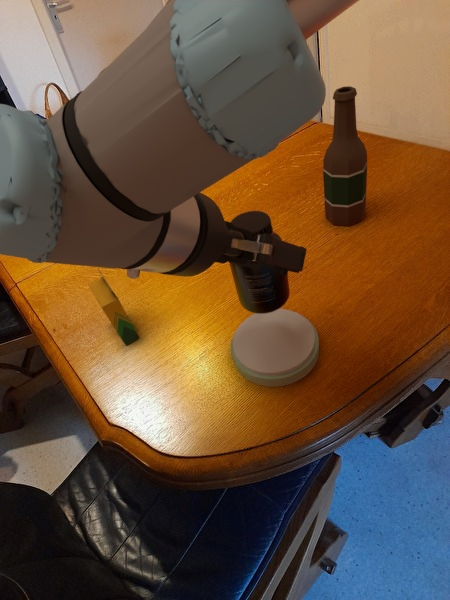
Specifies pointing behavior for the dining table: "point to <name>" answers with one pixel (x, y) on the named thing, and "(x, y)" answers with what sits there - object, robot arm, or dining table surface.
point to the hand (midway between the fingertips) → (271, 257)
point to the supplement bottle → (259, 271)
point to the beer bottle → (345, 164)
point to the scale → (275, 348)
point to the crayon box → (114, 310)
